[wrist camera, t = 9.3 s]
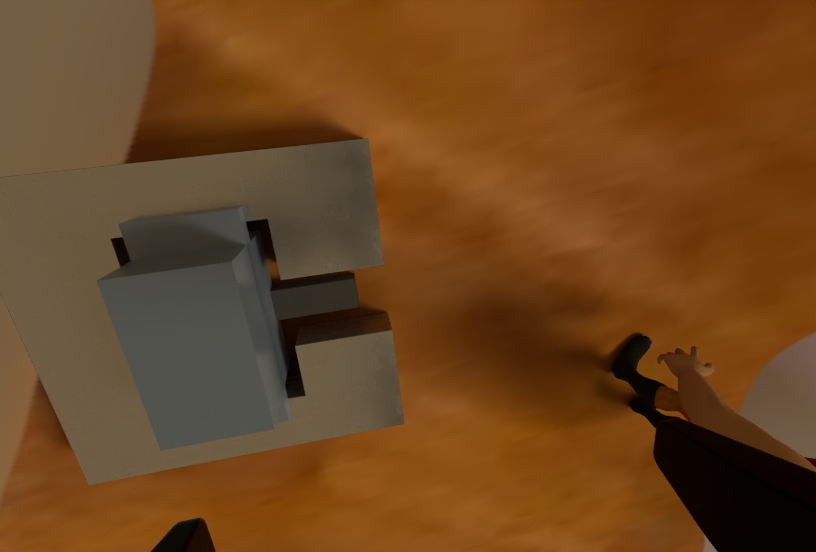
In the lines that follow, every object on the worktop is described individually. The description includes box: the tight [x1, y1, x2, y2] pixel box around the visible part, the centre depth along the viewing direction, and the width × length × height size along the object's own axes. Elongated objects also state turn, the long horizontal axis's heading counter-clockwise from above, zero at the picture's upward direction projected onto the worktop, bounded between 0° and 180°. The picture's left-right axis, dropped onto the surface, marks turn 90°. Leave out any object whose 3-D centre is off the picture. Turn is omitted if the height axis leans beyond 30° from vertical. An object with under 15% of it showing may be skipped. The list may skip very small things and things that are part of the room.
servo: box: [97, 206, 359, 451], centre depth 16 cm, size 8×9×5 cm
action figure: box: [612, 336, 816, 472], centre depth 16 cm, size 10×4×15 cm, turn 33°
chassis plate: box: [0, 138, 404, 485], centre depth 17 cm, size 14×13×2 cm
